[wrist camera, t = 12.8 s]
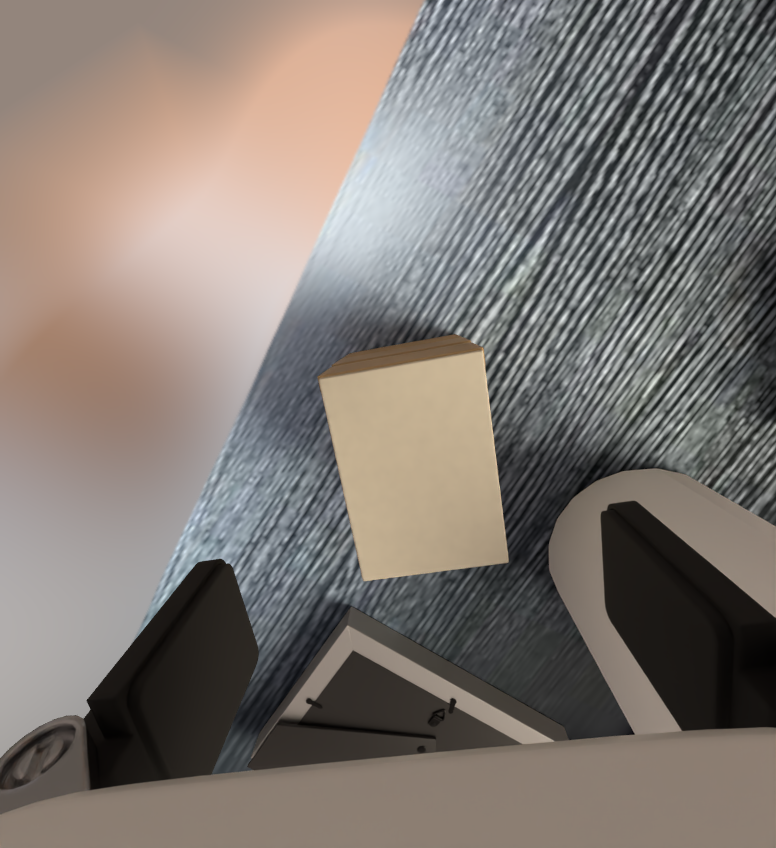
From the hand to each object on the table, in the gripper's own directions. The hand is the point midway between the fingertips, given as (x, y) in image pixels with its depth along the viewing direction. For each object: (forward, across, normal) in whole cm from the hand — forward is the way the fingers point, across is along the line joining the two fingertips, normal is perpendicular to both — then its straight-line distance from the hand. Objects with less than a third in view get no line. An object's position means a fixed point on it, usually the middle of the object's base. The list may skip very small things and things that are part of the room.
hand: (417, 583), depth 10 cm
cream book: (+12, 0, +1) cm, 12 cm away
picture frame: (+18, +5, +28) cm, 34 cm away
